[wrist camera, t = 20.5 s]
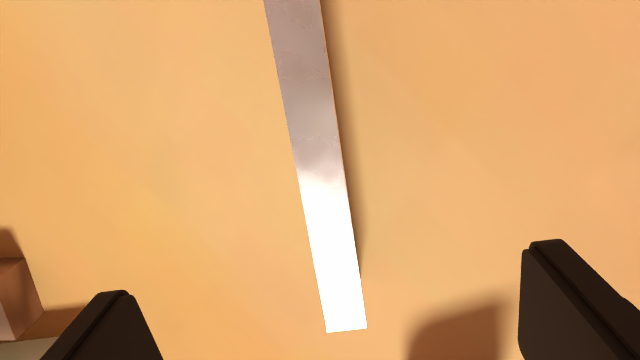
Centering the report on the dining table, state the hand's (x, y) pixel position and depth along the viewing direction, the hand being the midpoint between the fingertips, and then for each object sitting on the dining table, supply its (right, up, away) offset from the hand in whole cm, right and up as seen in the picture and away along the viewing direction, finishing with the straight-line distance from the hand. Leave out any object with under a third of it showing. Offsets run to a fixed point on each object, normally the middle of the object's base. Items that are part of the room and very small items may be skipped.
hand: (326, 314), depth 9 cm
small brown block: (-24, -5, +19) cm, 31 cm away
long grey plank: (0, +5, +15) cm, 16 cm away
